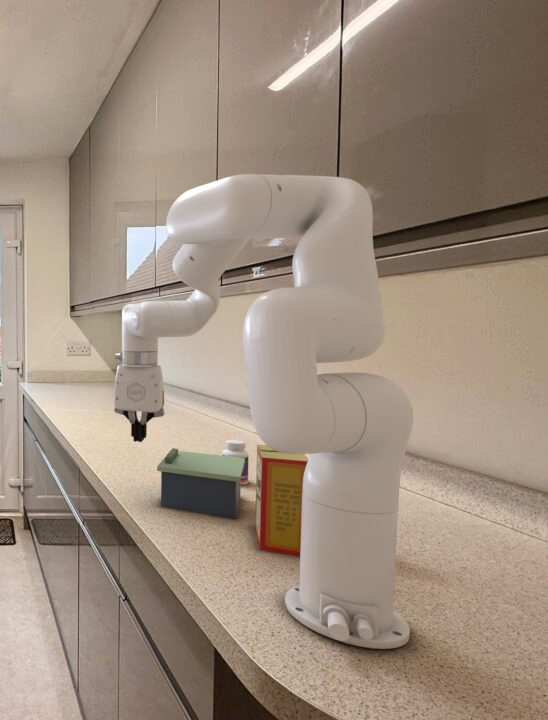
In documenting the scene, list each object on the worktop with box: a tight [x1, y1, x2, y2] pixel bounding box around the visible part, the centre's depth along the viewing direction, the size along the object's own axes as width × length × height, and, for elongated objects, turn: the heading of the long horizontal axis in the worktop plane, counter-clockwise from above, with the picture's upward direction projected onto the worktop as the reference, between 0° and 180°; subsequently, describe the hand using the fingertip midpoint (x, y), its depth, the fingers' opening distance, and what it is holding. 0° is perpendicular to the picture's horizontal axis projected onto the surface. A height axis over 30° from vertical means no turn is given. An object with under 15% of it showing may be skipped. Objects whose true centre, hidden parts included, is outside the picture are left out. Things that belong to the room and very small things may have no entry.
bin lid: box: [156, 447, 245, 482], centre depth 104 cm, size 15×15×2 cm
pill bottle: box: [222, 439, 249, 486], centre depth 117 cm, size 5×5×10 cm
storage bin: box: [160, 471, 242, 520], centre depth 105 cm, size 14×14×8 cm
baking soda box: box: [254, 444, 309, 557], centre depth 85 cm, size 10×6×16 cm
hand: (138, 440), depth 111 cm, fingers closed
